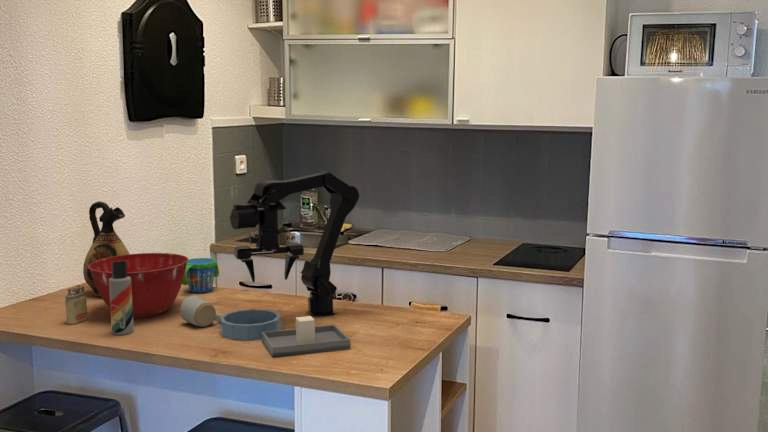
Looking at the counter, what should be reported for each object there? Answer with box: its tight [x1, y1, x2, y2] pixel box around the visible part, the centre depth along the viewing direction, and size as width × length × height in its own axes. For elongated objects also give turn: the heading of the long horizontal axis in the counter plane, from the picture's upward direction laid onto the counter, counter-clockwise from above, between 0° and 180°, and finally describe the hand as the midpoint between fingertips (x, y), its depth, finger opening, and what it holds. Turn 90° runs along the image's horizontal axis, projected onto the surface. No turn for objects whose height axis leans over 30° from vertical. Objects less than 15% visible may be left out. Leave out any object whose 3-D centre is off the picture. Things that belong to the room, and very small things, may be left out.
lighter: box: [64, 284, 88, 325], centre depth 230 cm, size 7×4×10 cm, turn 163°
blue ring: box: [219, 308, 282, 341], centre depth 221 cm, size 16×16×4 cm
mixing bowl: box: [88, 252, 189, 319], centre depth 240 cm, size 28×28×15 cm
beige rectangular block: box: [295, 315, 316, 344], centre depth 208 cm, size 4×4×6 cm
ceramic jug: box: [82, 200, 130, 298], centre depth 261 cm, size 17×15×30 cm
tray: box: [261, 324, 351, 358], centre depth 209 cm, size 20×14×2 cm
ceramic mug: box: [179, 295, 222, 328], centre depth 228 cm, size 11×8×8 cm
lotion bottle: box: [109, 261, 134, 336], centre depth 219 cm, size 6×6×20 cm
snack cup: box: [182, 257, 220, 294], centre depth 265 cm, size 16×10×10 cm
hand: (269, 280), depth 228 cm, fingers open, 9 cm apart
